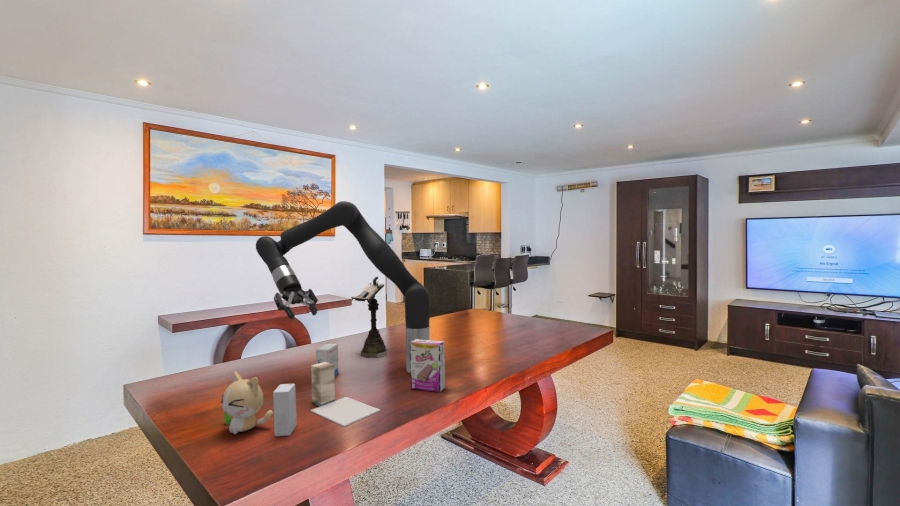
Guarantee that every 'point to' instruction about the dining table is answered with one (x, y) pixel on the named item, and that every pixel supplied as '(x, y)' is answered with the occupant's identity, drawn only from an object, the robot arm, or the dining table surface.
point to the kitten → (243, 404)
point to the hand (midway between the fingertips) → (304, 315)
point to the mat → (345, 411)
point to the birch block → (323, 383)
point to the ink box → (328, 355)
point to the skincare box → (284, 409)
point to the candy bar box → (427, 365)
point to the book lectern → (372, 321)
